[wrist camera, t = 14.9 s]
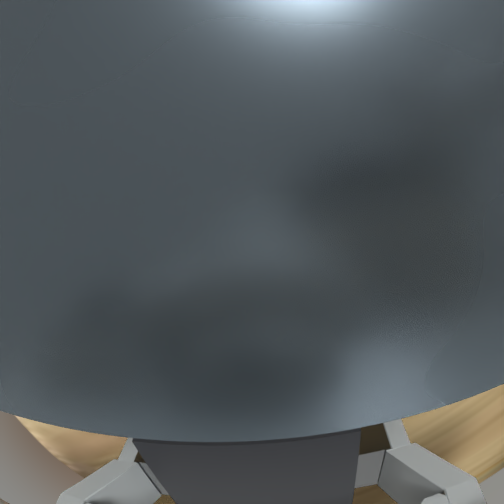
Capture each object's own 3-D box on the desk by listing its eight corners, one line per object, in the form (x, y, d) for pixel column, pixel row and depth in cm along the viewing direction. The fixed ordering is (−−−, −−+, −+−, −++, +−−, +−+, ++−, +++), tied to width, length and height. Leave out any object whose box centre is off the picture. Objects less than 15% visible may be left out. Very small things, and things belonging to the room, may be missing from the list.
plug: (271, -31, 6) (267, -146, 2) (334, 426, 10) (351, 532, 6) (112, 10, 6) (14, -55, 2) (212, 436, 10) (192, 538, 6)
